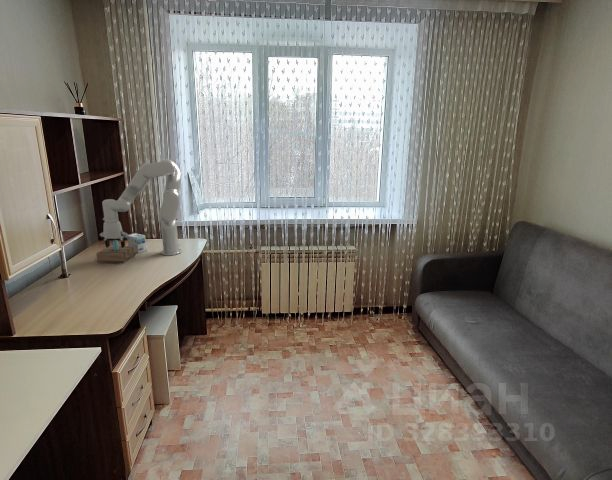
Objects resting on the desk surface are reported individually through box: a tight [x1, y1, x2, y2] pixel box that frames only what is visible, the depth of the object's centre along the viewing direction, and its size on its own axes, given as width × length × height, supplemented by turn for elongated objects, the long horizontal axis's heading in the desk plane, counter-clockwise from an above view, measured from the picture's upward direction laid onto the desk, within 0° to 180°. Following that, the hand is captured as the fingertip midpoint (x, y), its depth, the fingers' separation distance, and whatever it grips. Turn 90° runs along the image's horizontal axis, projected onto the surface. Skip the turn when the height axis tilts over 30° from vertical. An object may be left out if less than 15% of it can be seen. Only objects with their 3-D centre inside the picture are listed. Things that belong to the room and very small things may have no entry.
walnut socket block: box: [95, 245, 137, 264], centre depth 247 cm, size 16×16×6 cm
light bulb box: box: [126, 232, 148, 254], centre depth 263 cm, size 11×7×11 cm, turn 58°
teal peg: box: [111, 239, 120, 251], centre depth 246 cm, size 3×3×10 cm
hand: (115, 246), depth 246 cm, fingers open, 9 cm apart
